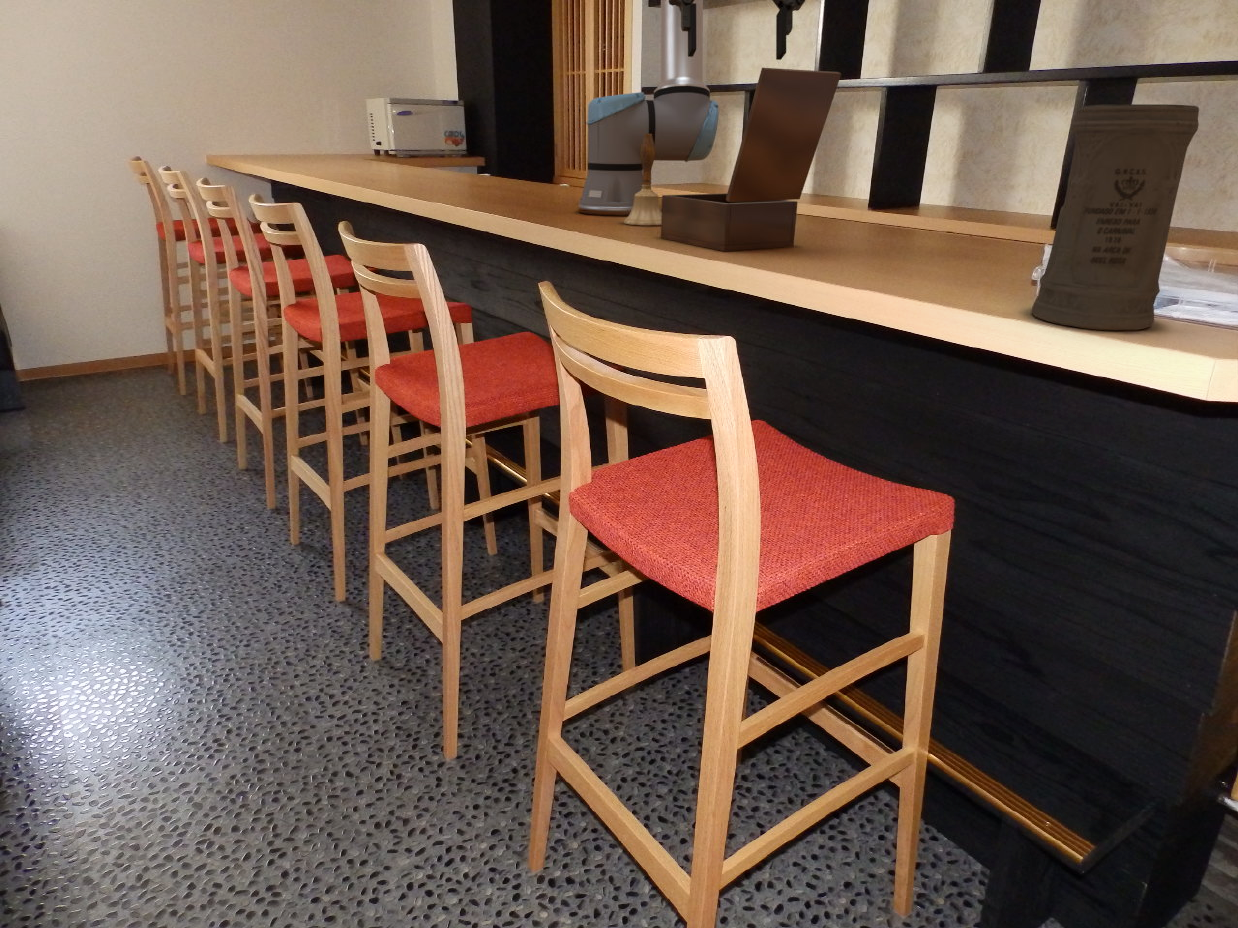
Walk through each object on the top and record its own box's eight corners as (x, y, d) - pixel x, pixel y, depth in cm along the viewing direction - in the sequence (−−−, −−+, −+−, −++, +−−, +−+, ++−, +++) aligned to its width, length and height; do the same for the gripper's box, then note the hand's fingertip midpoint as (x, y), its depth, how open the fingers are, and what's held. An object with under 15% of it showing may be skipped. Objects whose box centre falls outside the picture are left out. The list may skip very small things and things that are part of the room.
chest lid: (761, 67, 112) (765, 69, 111) (838, 72, 118) (841, 74, 117) (725, 199, 123) (728, 202, 123) (796, 197, 129) (799, 199, 129)
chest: (660, 238, 140) (662, 195, 137) (726, 234, 146) (729, 193, 143) (723, 251, 125) (726, 204, 123) (793, 246, 132) (797, 201, 129)
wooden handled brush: (624, 221, 164) (625, 133, 158) (667, 221, 163) (670, 133, 158) (623, 225, 156) (624, 133, 150) (668, 226, 156) (671, 134, 150)
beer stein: (1174, 335, 77) (1230, 99, 71) (1048, 328, 79) (1092, 97, 73) (1115, 314, 91) (1157, 115, 85) (1010, 308, 93) (1043, 114, 87)
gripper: (657, -114, 119) (658, 41, 120) (827, -105, 122) (826, 47, 123) (649, -84, 126) (650, 62, 128) (810, -75, 129) (809, 67, 131)
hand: (736, 55), depth 126 cm, fingers open, 13 cm apart
